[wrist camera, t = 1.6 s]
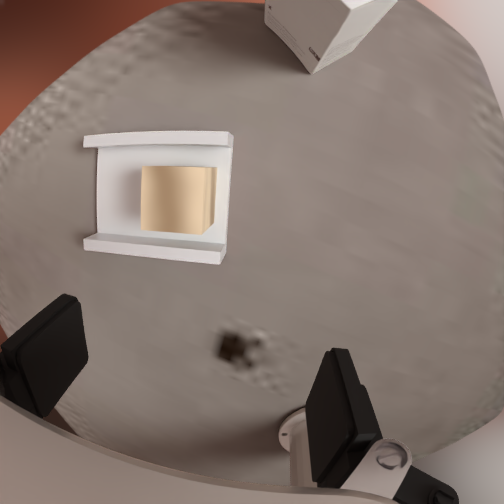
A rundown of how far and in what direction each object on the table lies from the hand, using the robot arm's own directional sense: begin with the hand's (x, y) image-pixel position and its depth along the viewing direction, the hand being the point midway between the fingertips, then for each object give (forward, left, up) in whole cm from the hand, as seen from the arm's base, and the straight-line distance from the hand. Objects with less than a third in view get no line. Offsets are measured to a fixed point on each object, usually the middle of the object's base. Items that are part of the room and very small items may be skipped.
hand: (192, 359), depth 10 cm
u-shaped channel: (+9, -4, -21) cm, 24 cm away
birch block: (+6, -4, -21) cm, 22 cm away
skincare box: (-5, -22, -22) cm, 31 cm away
